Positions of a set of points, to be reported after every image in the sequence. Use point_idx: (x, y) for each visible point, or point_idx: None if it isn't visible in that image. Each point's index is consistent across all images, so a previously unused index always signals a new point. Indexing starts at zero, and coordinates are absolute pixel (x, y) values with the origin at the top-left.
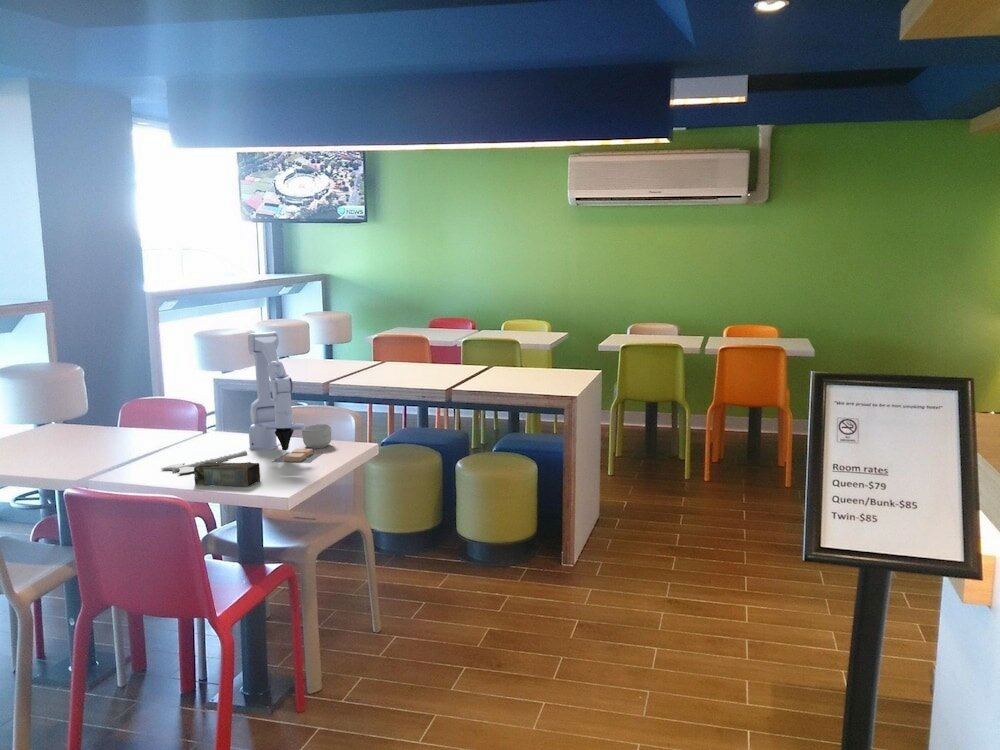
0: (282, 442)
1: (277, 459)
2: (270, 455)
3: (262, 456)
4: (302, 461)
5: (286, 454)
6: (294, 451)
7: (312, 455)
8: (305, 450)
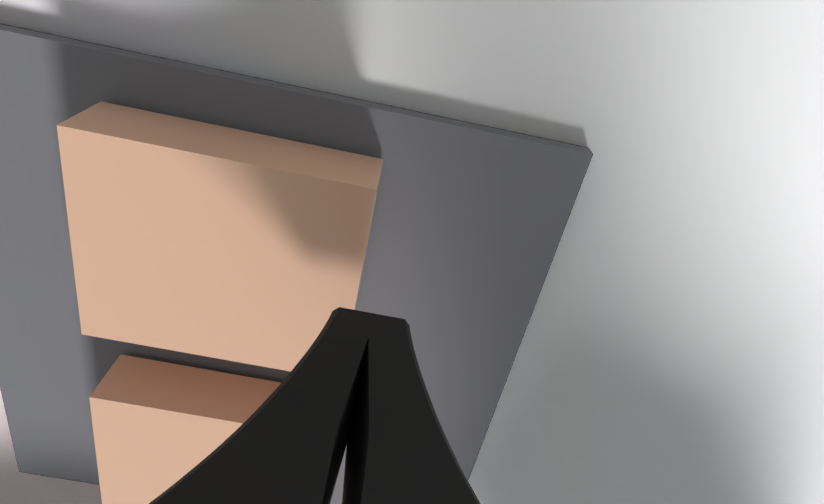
0: (376, 421)
1: (507, 285)
2: (615, 495)
3: (706, 473)
4: None
5: None
6: None
7: None
8: (160, 469)
